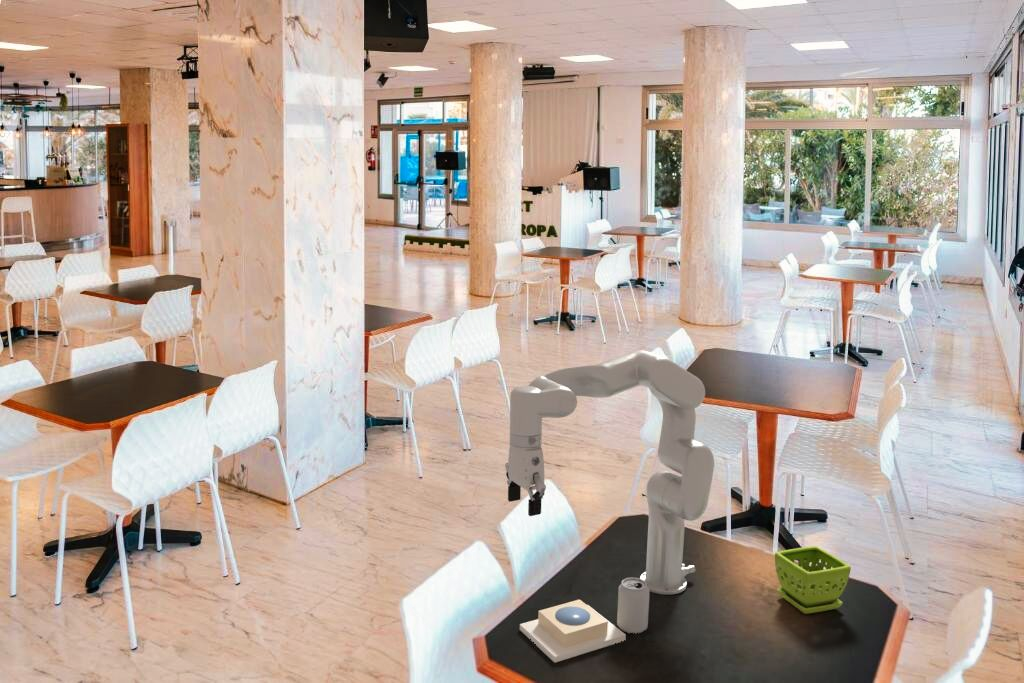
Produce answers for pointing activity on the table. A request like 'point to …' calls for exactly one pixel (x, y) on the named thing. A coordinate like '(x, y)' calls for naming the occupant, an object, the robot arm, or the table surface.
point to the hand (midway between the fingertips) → (524, 507)
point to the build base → (572, 650)
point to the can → (633, 605)
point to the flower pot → (811, 578)
